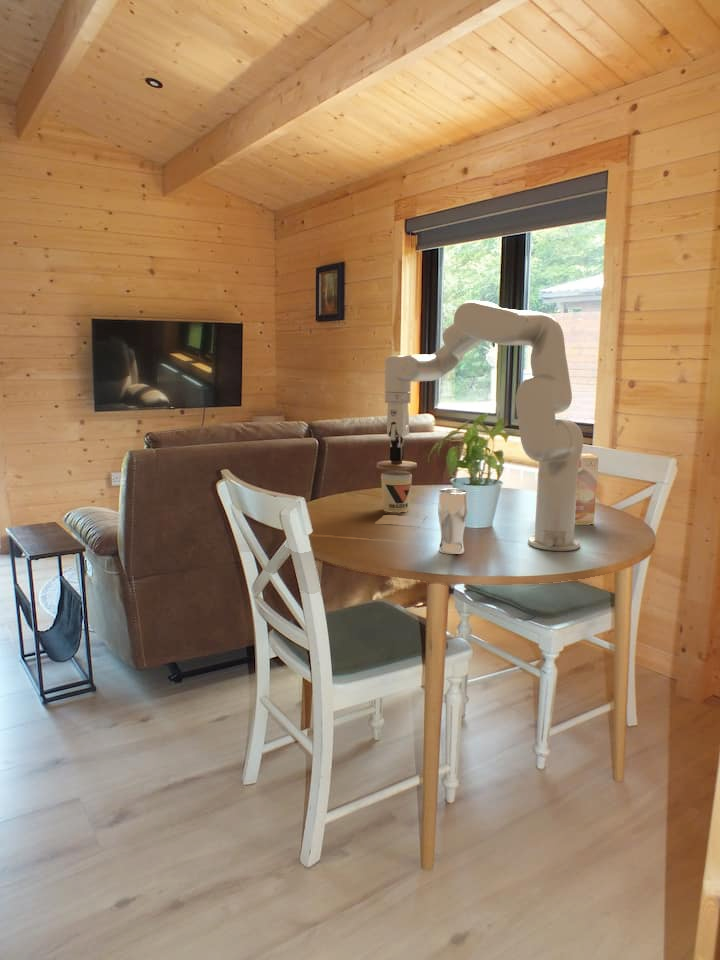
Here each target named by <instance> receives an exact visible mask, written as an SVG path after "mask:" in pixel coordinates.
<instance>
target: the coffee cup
mask: <svg viewBox="0 0 720 960" xmlns="http://www.w3.org/2000/svg"><path fill="white" fill-rule="evenodd" d="M412 478H413V474H412V473H411V472H410V471H407V470H386V471H382V472H381V474H380V479H381V480H380V482H381V497H382V498H381V499H382V510H383V509H384V510H387V511H392V512H405V511H408V510H409V511H410V504H411V503H410V500H411V491H412V490H411V489H412ZM409 511H408V512H409Z"/></svg>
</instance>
